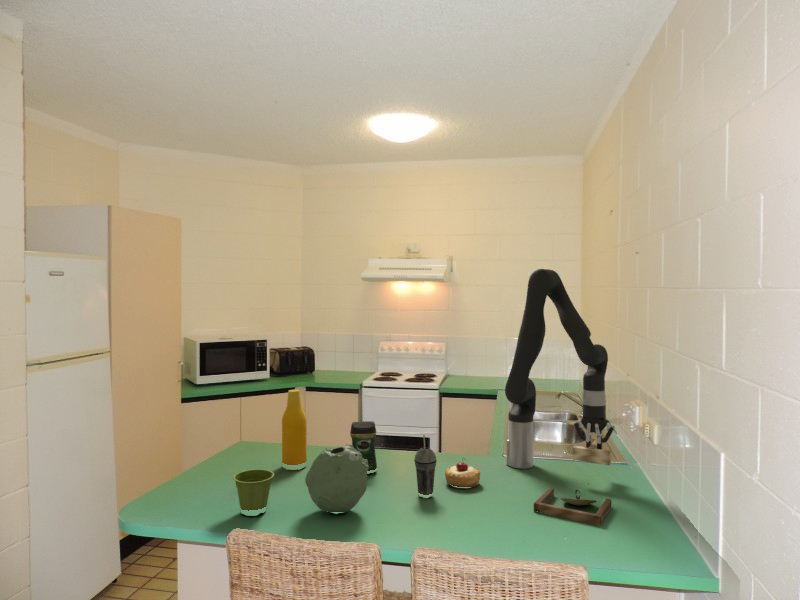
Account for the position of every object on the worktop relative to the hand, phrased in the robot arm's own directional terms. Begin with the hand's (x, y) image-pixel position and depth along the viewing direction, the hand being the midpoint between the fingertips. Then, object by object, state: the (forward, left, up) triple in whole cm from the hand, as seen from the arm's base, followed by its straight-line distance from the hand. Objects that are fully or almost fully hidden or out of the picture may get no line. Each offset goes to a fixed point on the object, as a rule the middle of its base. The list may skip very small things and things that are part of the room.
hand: (594, 452), depth 186 cm
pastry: (-38, -25, -11) cm, 47 cm away
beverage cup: (-43, -41, -11) cm, 61 cm away
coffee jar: (-74, -33, -11) cm, 82 cm away
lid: (+1, -24, -11) cm, 26 cm away
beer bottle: (-100, -42, -11) cm, 109 cm away
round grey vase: (-59, -66, -11) cm, 90 cm away
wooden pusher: (0, +1, -2) cm, 2 cm away
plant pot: (-80, -80, -11) cm, 114 cm away
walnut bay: (0, -26, -10) cm, 28 cm away
